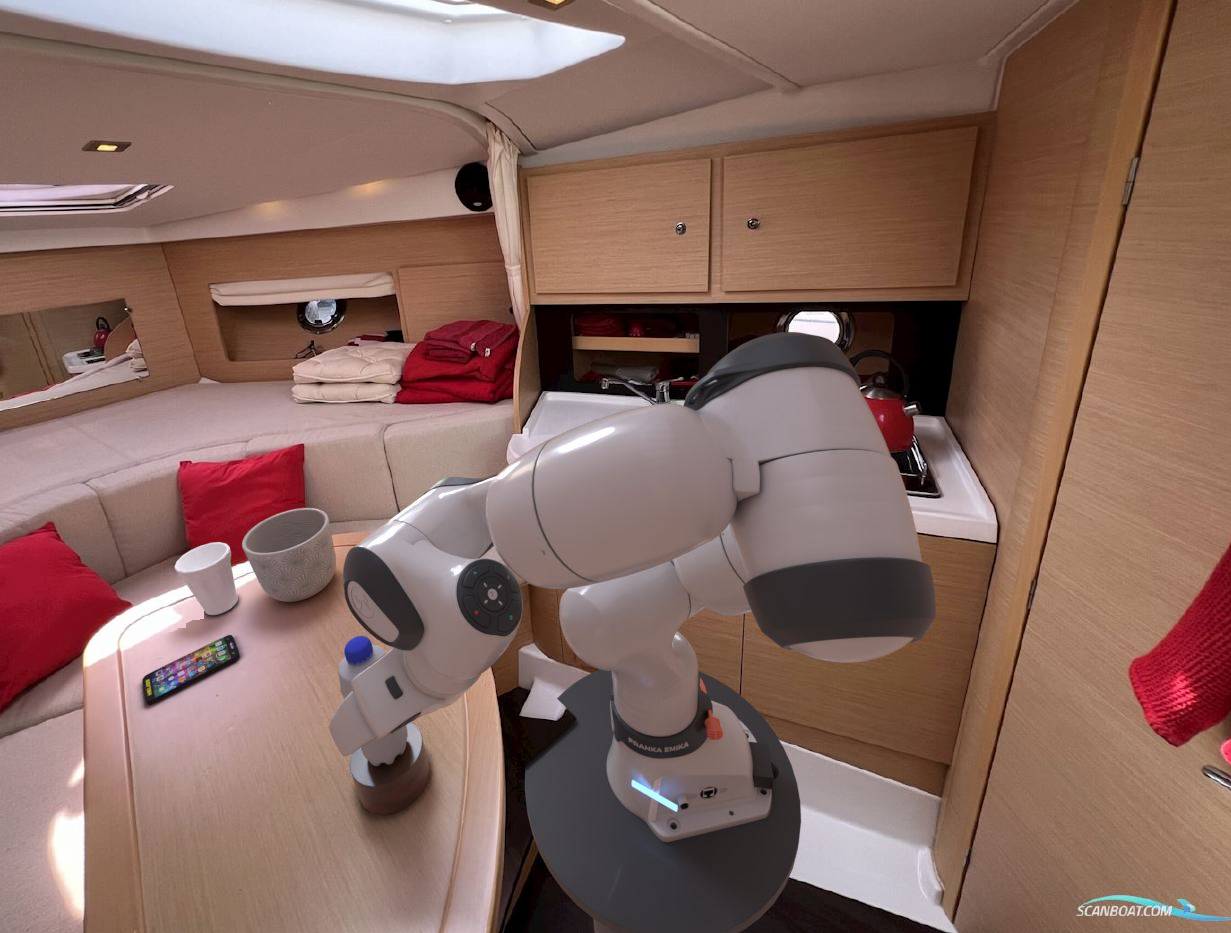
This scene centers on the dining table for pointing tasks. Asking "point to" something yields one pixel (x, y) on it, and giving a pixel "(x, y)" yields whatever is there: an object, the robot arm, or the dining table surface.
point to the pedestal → (392, 776)
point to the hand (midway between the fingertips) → (403, 703)
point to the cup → (209, 576)
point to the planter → (292, 553)
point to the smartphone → (189, 669)
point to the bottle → (353, 663)
